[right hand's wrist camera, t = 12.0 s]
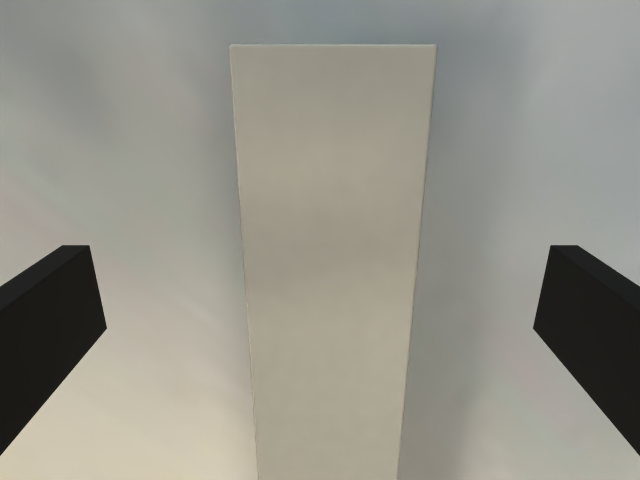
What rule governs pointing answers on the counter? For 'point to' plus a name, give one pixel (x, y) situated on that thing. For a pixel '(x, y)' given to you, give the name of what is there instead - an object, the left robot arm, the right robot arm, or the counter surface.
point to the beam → (330, 247)
